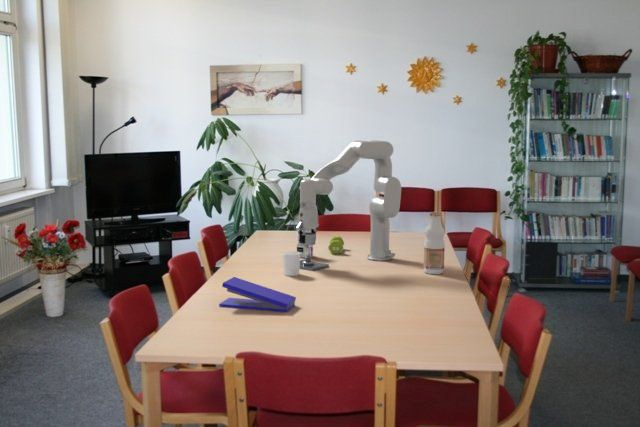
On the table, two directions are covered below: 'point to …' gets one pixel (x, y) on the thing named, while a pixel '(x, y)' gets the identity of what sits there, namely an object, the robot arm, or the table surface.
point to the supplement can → (302, 246)
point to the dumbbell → (336, 245)
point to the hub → (309, 239)
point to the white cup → (291, 263)
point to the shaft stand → (309, 264)
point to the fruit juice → (434, 246)
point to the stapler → (256, 297)
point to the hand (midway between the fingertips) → (307, 241)
